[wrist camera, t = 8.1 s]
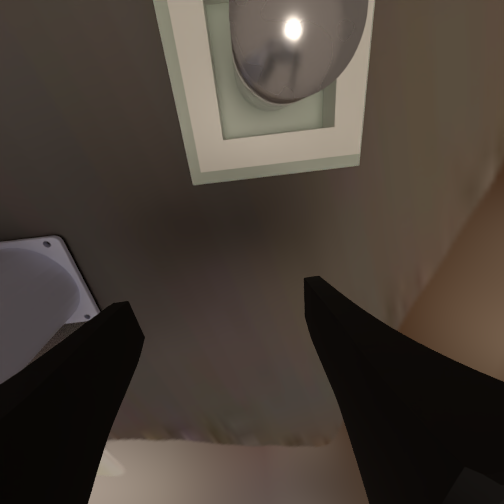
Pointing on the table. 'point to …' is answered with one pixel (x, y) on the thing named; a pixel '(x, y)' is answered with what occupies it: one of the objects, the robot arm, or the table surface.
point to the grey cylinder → (292, 46)
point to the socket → (245, 115)
